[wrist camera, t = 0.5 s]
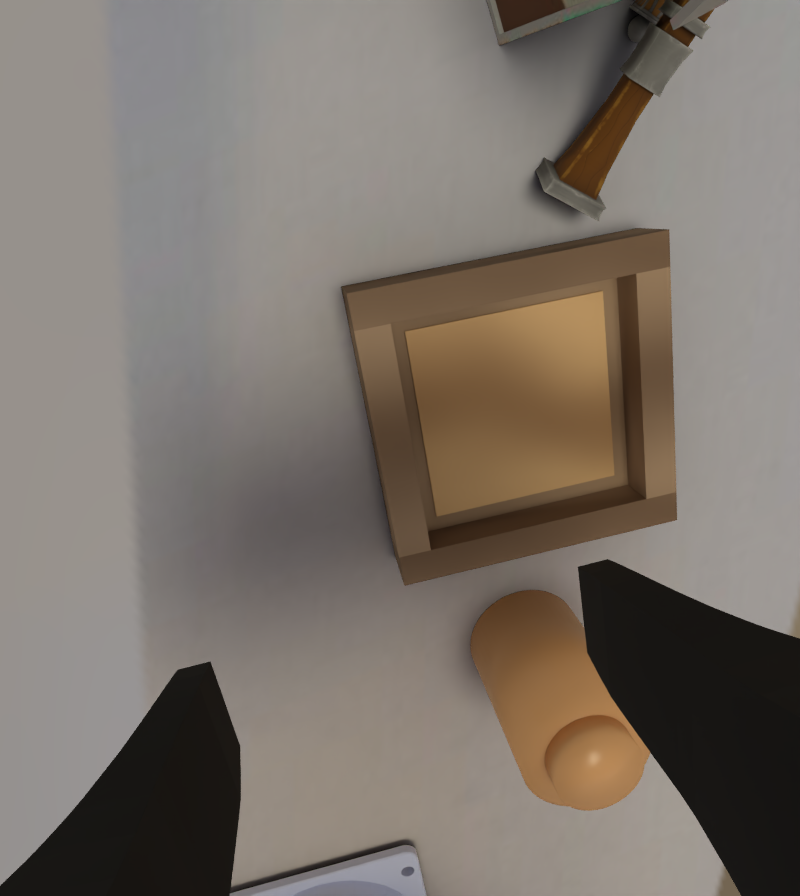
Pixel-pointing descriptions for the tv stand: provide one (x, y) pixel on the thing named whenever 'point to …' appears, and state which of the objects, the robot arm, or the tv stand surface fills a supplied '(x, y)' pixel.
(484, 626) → the wooden dowel peg
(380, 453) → the tray
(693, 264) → the tv stand surface
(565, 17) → the food container
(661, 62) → the wooden post with brackets
